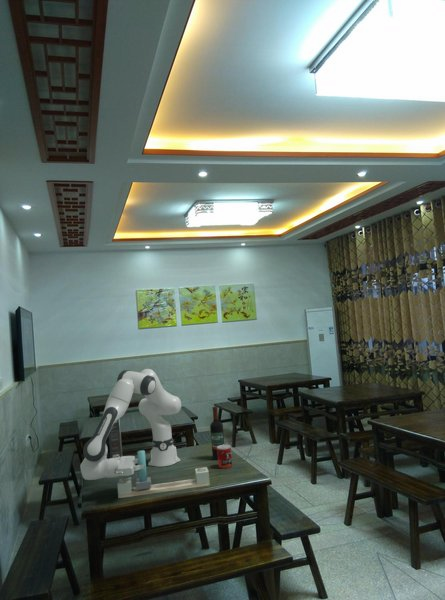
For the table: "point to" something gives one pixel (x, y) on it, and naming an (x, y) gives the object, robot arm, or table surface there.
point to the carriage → (142, 473)
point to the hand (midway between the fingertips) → (143, 463)
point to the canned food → (224, 456)
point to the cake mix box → (115, 440)
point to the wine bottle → (216, 433)
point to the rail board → (163, 485)
